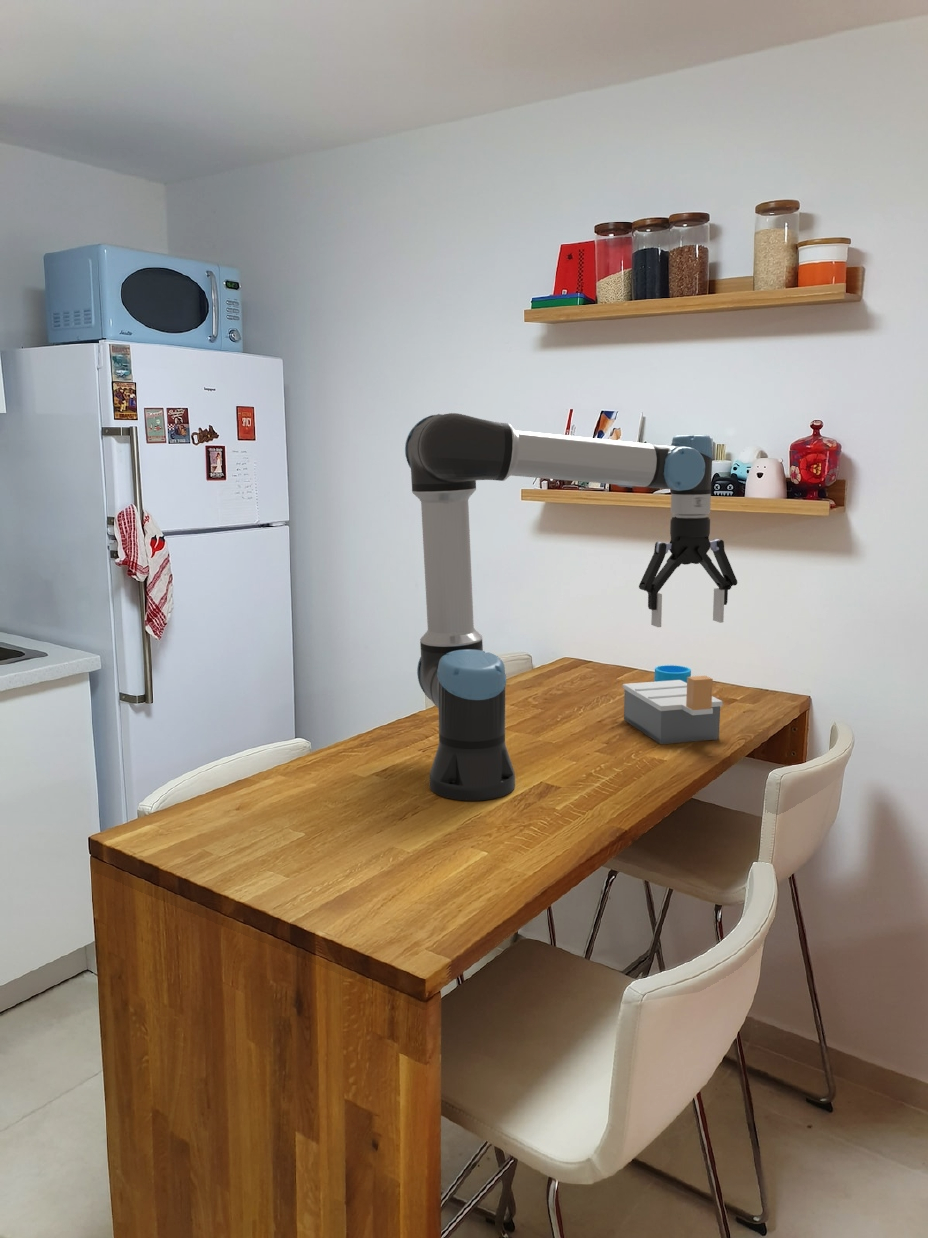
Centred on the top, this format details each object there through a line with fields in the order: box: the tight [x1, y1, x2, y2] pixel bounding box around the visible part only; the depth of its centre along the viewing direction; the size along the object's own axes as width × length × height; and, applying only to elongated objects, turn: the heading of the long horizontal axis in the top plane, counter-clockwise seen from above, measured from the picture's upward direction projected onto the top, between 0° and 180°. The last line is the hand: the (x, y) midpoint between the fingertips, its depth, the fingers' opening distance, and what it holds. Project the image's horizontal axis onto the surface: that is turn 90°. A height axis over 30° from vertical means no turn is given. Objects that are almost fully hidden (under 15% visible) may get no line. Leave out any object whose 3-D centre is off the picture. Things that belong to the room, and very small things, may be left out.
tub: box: [623, 689, 721, 745], centre depth 201 cm, size 13×18×7 cm
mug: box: [653, 664, 692, 683], centre depth 223 cm, size 12×8×8 cm
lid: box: [622, 675, 723, 715], centre depth 198 cm, size 14×23×7 cm, turn 14°
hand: (687, 623), depth 189 cm, fingers open, 13 cm apart
